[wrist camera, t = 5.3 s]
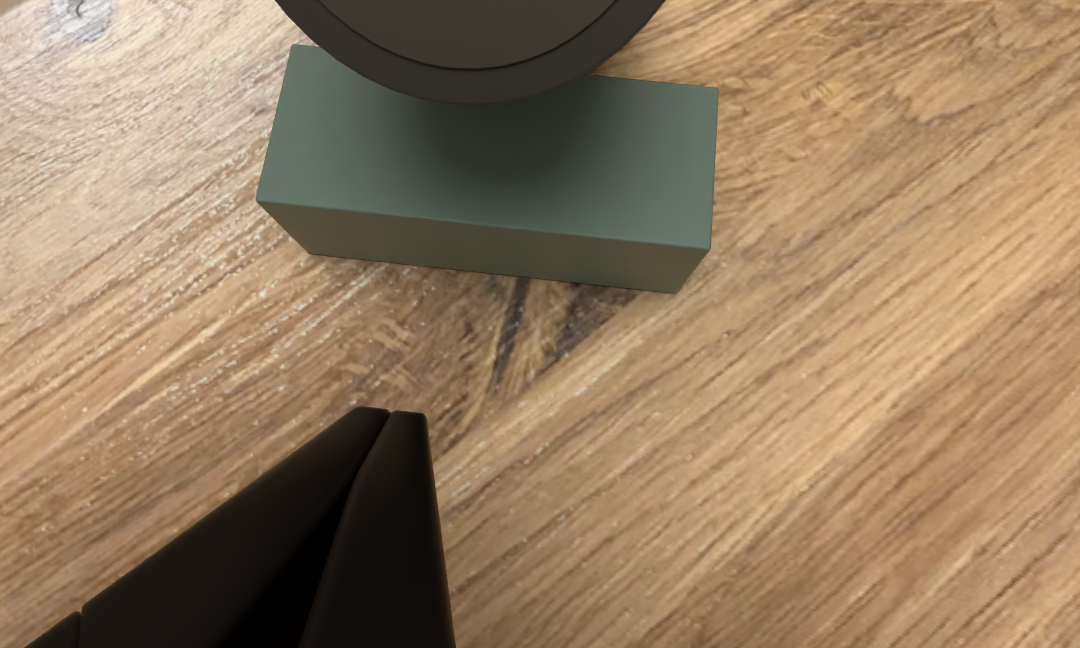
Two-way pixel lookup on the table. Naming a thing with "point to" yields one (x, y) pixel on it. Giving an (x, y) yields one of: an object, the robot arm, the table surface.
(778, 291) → the table surface
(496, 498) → the table surface
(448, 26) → the bin
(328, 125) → the prop block
